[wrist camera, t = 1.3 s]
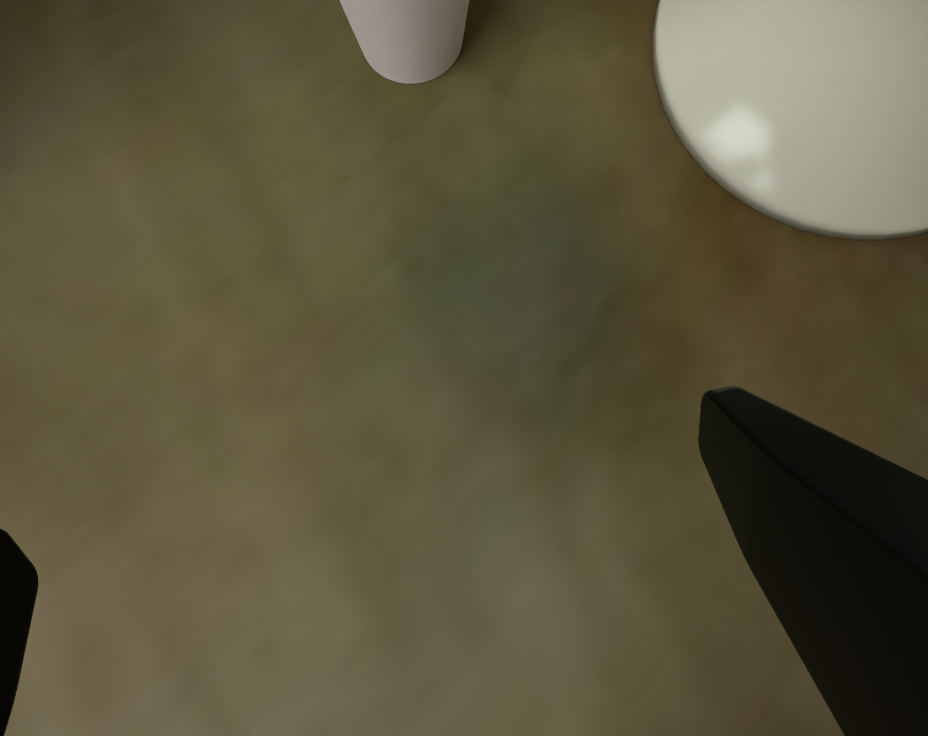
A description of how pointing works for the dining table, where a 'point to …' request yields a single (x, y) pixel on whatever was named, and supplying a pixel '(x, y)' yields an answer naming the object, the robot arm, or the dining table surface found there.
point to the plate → (804, 107)
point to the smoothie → (408, 35)
